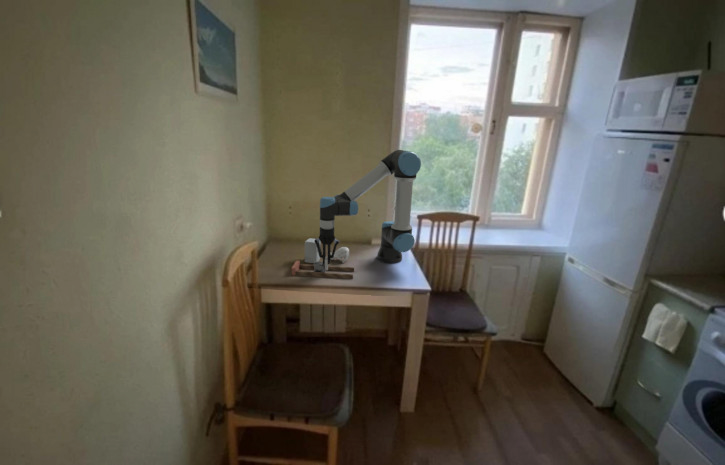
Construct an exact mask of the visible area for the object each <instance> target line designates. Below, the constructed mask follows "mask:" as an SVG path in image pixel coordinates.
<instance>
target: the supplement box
mask: <svg viewBox="0 0 725 465" xmlns="http://www.w3.org/2000/svg"><path fill="white" fill-rule="evenodd" d="M315 239H316V238H308V239H307V240H305V241H304V263H308V264H314V263H315V262H320V260H321V257H319V253H318V249H317V245H316V243H315V242H314V241H315ZM319 243H320V245H321V244H322V243H321V241H320V240H319Z"/></svg>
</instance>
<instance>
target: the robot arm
mask: <svg viewBox="0 0 725 465" xmlns="http://www.w3.org/2000/svg"><path fill="white" fill-rule="evenodd" d="M421 167H422V161H421V158H420V157H419V155H418V154H417V153H415V152H413V151H410V150H404V149H397V150H394V151H391V153H389V154H387V156H385V157H383V159H381V160H380V161H379V163H378V165H376V166H375V167H374V168H373V169H372V170H370V171H369V172H368V173H366V174H364V176H362V177H361V178H360V179H358V180H357V181H356V182H355V183H353V184H352V185H351V186H349V187H348V188H347V189H346V190H344V191H343V192H342V193H340V194H336V195H334V196H323V197H321V198H320V200H319V236H318V237H317V238H314V239H315V241H314V242H315V243H316V245H317V249H318V253H319V257H320V259H321V258H322V262H323V264H325V272H327V271H329V270H328V266H329V265H330V264H331V258H333V257H334V253H335V251H336V250H337V245H338V244H339V243H340V240H339V239H337V238H336V237H335V223H336V222H335V217H341V216H343V217H345V216H347V217H348V216H349V217H351V216H356V215H357V214H358V212H359V204H358V202H357V201H356V200H358V198H360V197H361V196H363V195H364V194H365V193H367V192H368V191H369V190H371V189H372V188H373V187H374V186H376V185H378V183H380V182H381V181H382V180H383V179H384V178H386V177H387V176H392V175H393V177H394V179H395V180H396V186H395V187H396V188H395V203H394V204H395V205H394V220H389V221H387V220H386V221H384V222H383V223H382V224H381V236H380V246H379V250H378V251H377V255H376V258H377V260H378V261H380V262H383V263H388V264H394V263H395V264H396V263H400V262H402V261H403V253H407V252H409V251H410V250H411V249H412V248H413V247H414V245H415V236H414V235H413V227H412V225H411V215H412V214H411V211H412V198H413V185H414V181H415V179H417V174H418V173H419V172H420V170H421ZM319 240H320V241H321V244H322V248H321V244H320V243H319ZM333 242H334V245H333V249H332V251H331V247H332V246H331V245H332V244H333ZM326 250H327V251H326ZM331 252H332V255H331ZM326 253H327V254H326Z"/></svg>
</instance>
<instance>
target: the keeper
mask: <svg viewBox="0 0 725 465" xmlns="http://www.w3.org/2000/svg"><path fill="white" fill-rule="evenodd" d="M313 265H314V269H313V272H323V273H326V271H325V264H323V261H318V262H315V263H313Z"/></svg>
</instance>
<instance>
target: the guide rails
mask: <svg viewBox="0 0 725 465" xmlns="http://www.w3.org/2000/svg"><path fill="white" fill-rule="evenodd" d="M299 269H303V270H298V271H296V272H295V275H294V276H299V277H300V276H301V277H315V278H316V277H317V278H333V279H352V280H353V278H354V274H352V273H339V272H355V267H354V266H339V265H338V266H336V265H328V270H327V271H336V272H325V273H323V272H314V271H307V270H314V264H306V263H305V264H304V263H303V264H302V263H300V265H299ZM304 269H306V271H304ZM337 271H338V273H337Z"/></svg>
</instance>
